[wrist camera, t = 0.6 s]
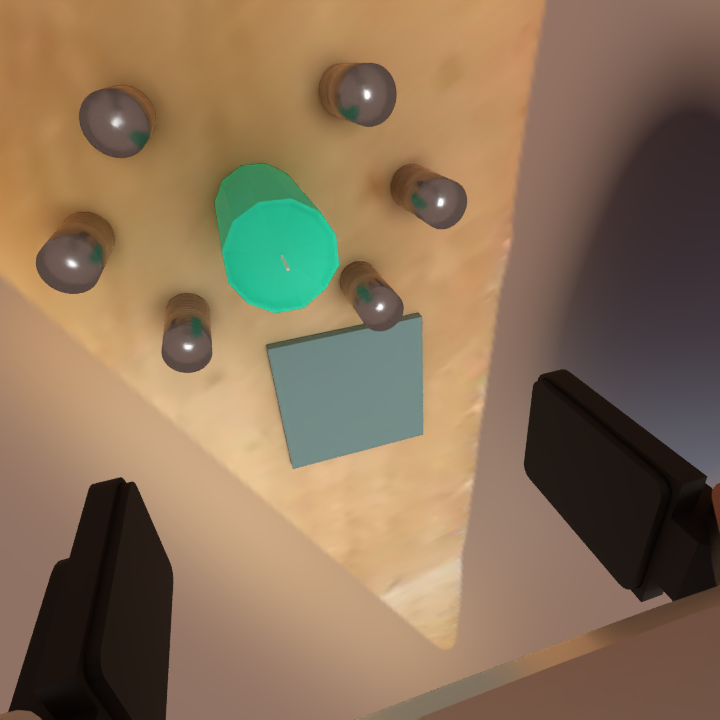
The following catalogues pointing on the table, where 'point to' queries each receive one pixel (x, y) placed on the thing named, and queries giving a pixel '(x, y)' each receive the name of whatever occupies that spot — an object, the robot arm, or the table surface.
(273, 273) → the candle
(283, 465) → the table surface
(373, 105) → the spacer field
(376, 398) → the mat
